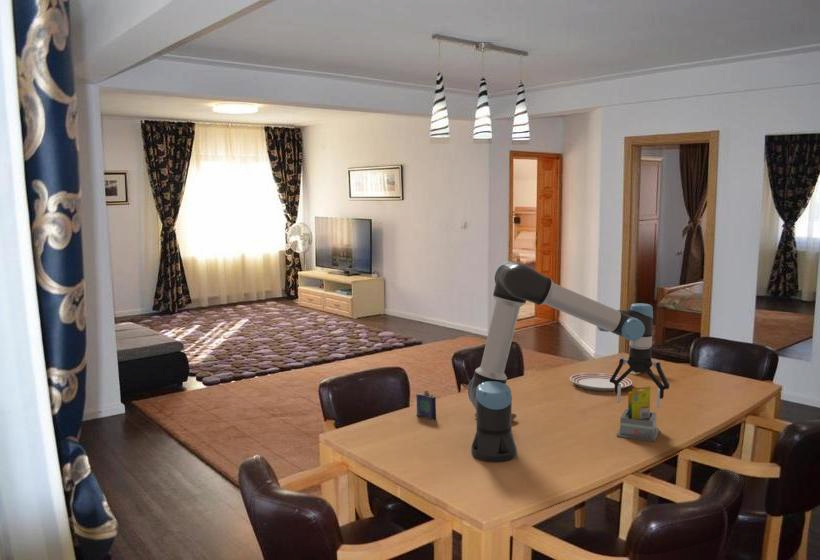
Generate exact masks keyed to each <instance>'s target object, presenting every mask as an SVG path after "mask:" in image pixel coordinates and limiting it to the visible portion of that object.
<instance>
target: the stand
mask: <svg viewBox="0 0 820 560" xmlns="http://www.w3.org/2000/svg"><path fill="white" fill-rule="evenodd" d="M657 417H658V416H657V412H653V411H650V418H643V419H635V418H628V408H625V409H624V411H623V413H622V414H621V416H620V420H619V421H620V422H619V425H620V426H619V429H618V431H617V433H616V437H617V438H625V439H633V440H637V441H638V440H640V441H646V442H653V443H656V440H657V438H658V435H659V432H660V428H659V427H657Z"/></svg>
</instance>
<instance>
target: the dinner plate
mask: <svg viewBox="0 0 820 560" xmlns="http://www.w3.org/2000/svg"><path fill="white" fill-rule="evenodd" d="M613 374H614V373H613ZM613 374H612V373H611V374H610V373H603V372H602V373H601V372H583V373H581V372H580V373H576V374H572V375H571V376H570V377H569V380H570V381H571V382H572V383H573V384H574V385H577V386H579V387H582V388H583V389H587V390H591V391H597V392H614V391H615V385H614V383H611V382H610V379H611V377H612V376H613ZM620 376H621V375H618V374H617V376H616V378H615V380H617V379H618V378H619V377H620ZM632 381H633V380H631V379H630V378H627V377H625V378H624V379H623V380H622V381H621V382H620V383H619V384H621V390H622V389H625V388H628V387H630V386H631V385H632V384H633V382H632Z"/></svg>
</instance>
